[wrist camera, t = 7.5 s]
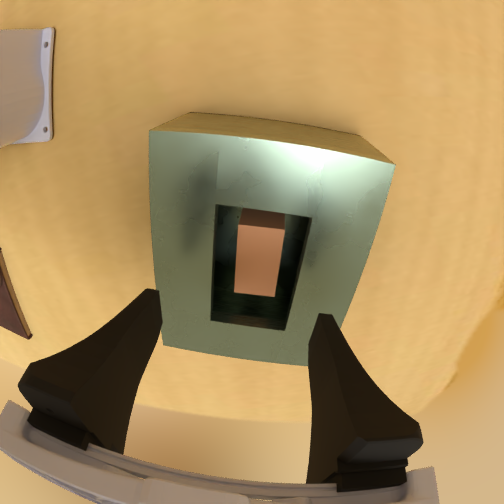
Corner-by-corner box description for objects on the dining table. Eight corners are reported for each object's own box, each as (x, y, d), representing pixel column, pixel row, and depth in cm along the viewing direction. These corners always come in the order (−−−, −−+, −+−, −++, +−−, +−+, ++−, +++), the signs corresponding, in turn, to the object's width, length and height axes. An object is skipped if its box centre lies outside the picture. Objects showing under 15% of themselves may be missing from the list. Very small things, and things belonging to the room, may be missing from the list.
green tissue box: (190, 112, 18) (149, 130, 12) (360, 135, 18) (395, 164, 12) (186, 284, 26) (163, 345, 20) (316, 302, 25) (322, 367, 20)
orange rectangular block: (247, 190, 20) (238, 224, 16) (284, 194, 20) (284, 229, 16) (243, 248, 22) (234, 292, 18) (276, 252, 22) (274, 296, 18)
